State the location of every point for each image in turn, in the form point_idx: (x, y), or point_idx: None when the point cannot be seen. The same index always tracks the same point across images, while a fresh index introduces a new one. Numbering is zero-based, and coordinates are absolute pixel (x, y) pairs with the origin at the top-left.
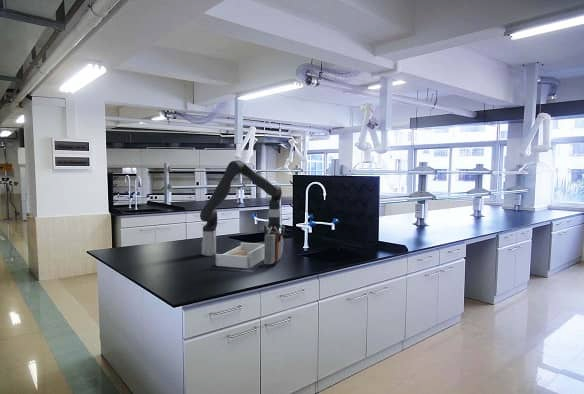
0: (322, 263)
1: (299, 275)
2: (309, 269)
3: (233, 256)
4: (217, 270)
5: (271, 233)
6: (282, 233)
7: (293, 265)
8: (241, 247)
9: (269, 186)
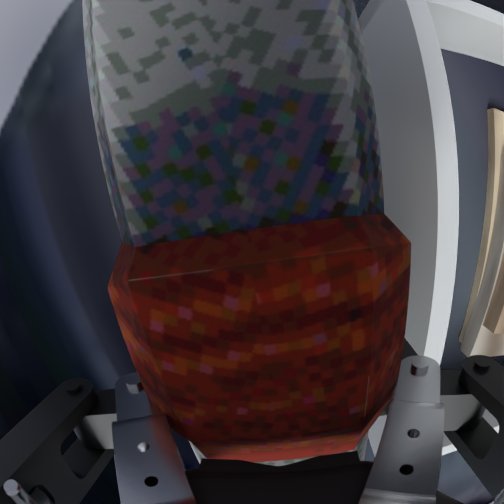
0: (25, 341)
1: (34, 63)
2: (18, 196)
3: (493, 12)
4: (485, 5)
5: (275, 246)
6: (48, 402)
7: (116, 246)
8: None
9: None
